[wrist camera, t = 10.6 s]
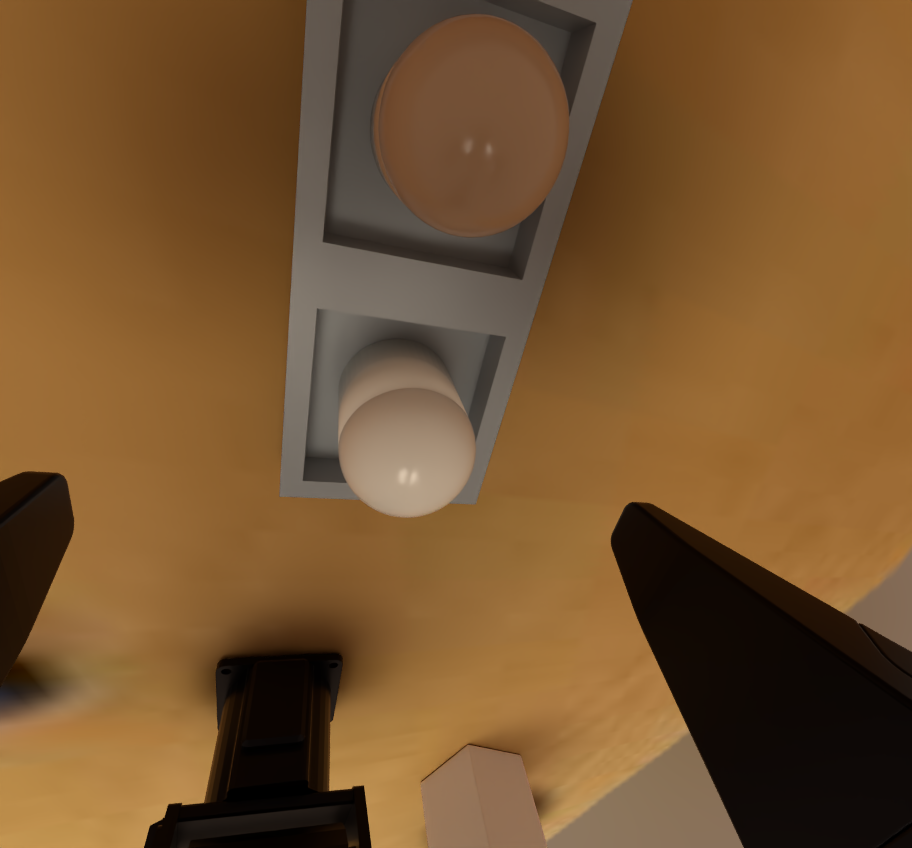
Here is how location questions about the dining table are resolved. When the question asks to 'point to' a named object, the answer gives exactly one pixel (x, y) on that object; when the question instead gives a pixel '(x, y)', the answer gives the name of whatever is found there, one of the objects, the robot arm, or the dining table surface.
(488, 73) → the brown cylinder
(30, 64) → the dining table surface
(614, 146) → the dining table surface
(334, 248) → the grey flat rectangular tray
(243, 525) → the dining table surface
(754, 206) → the dining table surface
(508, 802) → the milk
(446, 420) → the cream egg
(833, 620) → the robot arm
